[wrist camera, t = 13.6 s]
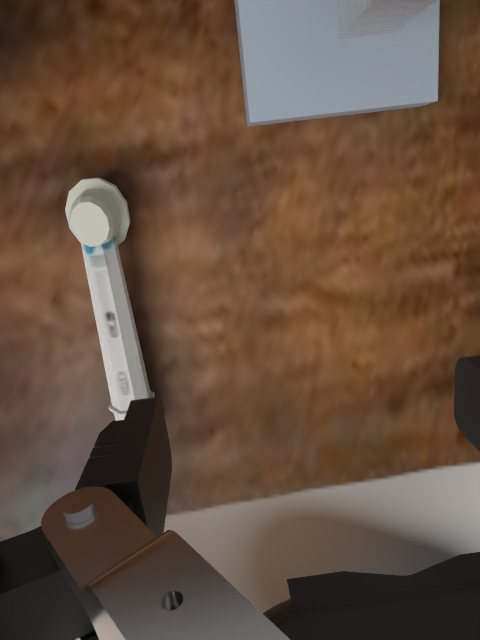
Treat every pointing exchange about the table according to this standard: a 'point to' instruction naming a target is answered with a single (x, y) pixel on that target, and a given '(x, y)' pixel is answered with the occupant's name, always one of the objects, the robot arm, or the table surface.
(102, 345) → the toothbrush head
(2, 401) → the table surface
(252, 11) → the stand base
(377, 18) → the column
